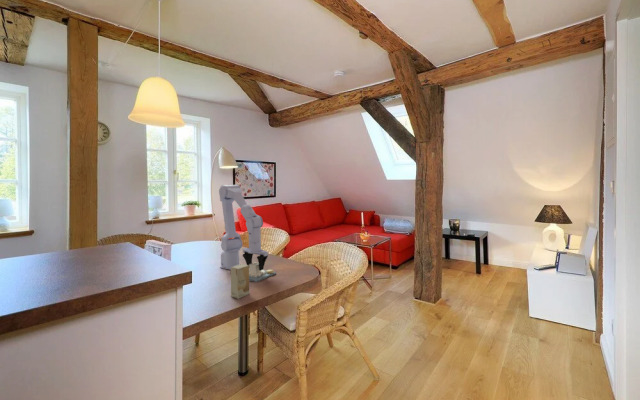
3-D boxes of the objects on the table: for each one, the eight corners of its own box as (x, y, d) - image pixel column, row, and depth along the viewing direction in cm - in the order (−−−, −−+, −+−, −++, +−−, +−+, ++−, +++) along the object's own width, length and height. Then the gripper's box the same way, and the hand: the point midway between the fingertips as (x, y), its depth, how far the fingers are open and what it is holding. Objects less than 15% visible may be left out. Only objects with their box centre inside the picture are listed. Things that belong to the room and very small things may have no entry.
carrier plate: (234, 277, 146) (234, 269, 146) (254, 269, 158) (254, 262, 158) (256, 282, 139) (256, 274, 139) (275, 273, 151) (275, 266, 151)
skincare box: (238, 299, 120) (237, 268, 119) (230, 297, 122) (229, 267, 121) (250, 293, 125) (249, 264, 125) (242, 291, 128) (241, 263, 127)
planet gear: (242, 275, 147) (242, 264, 147) (254, 270, 155) (254, 260, 154) (256, 277, 143) (255, 267, 142) (268, 272, 150) (267, 262, 150)
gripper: (237, 241, 148) (238, 268, 149) (260, 244, 140) (261, 273, 141) (248, 238, 154) (248, 264, 155) (270, 241, 146) (271, 269, 148)
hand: (255, 268), depth 149 cm, fingers open, 7 cm apart
